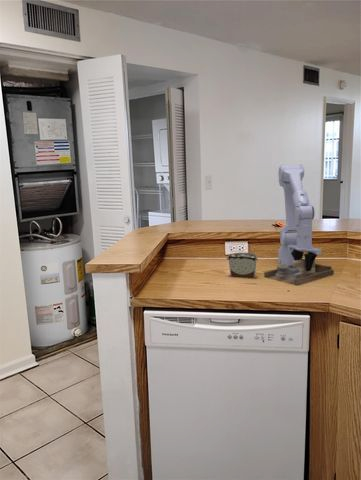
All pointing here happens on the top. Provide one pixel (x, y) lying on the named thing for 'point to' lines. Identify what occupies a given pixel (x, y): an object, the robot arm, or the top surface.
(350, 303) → the top surface
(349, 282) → the top surface
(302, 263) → the grey rectangular block
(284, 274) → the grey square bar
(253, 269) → the food container
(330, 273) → the walnut tray
